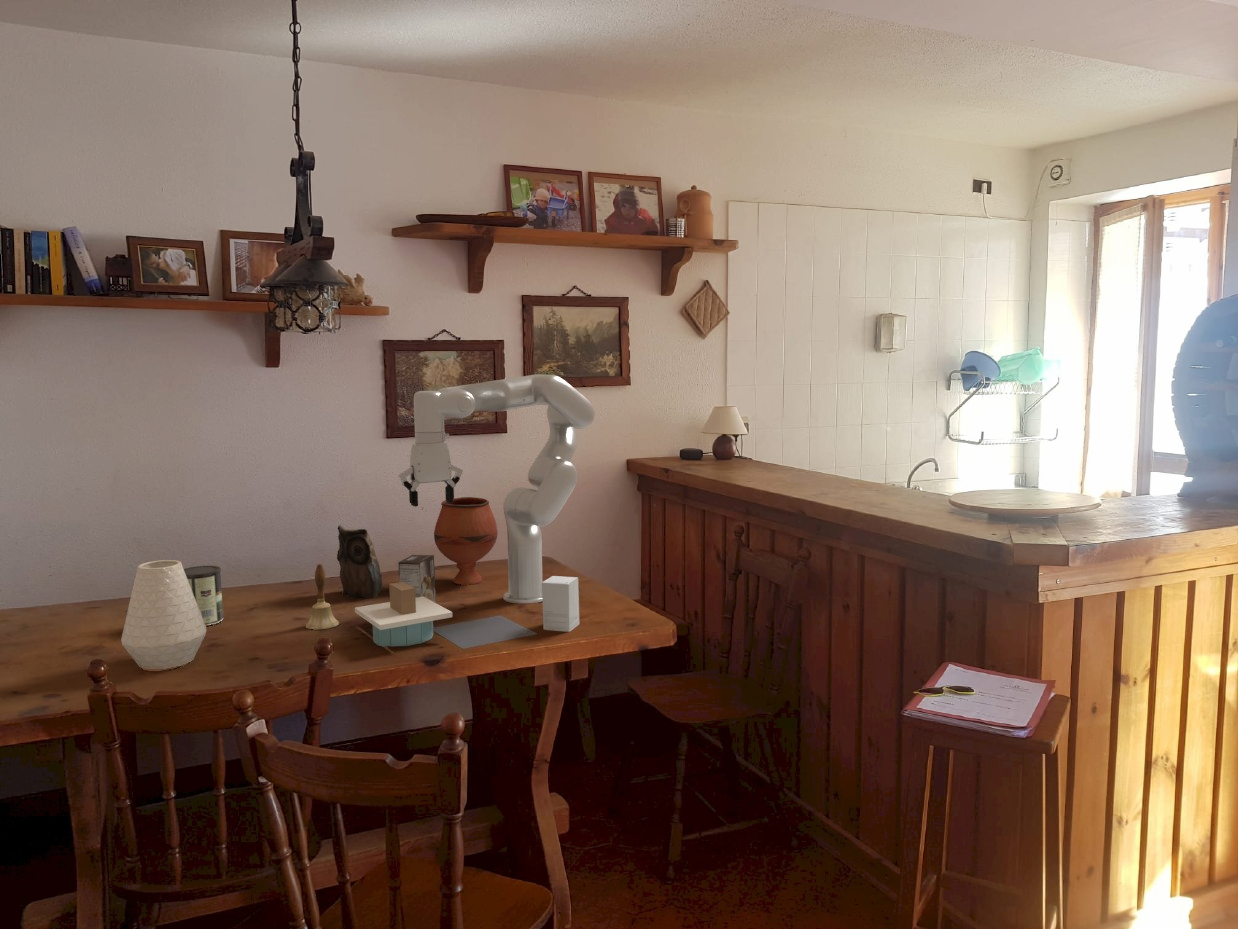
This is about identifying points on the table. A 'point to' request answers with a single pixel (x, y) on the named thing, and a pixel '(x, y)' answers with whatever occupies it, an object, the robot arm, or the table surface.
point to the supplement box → (560, 603)
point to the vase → (162, 617)
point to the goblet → (465, 535)
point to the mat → (482, 631)
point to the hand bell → (321, 606)
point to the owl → (358, 564)
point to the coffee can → (207, 592)
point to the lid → (402, 609)
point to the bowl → (403, 634)
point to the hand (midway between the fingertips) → (432, 503)
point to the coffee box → (419, 575)
